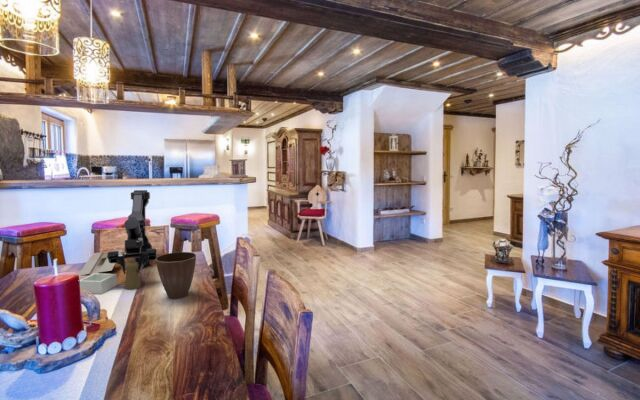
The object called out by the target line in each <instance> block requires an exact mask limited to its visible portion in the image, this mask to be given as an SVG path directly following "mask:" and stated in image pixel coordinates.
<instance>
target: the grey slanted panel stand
mask: <svg viewBox="0 0 640 400" xmlns="http://www.w3.org/2000/svg"><path fill="white" fill-rule="evenodd" d="M112 251H119V253H122V252H123V248H122V249H116V250H115V249H114V250H112ZM108 253H109V252H107V253H104V252H103V251H101V252H99V251H98V252H93V253H92V254H91V256H90V257H89V258H88V260H87V261H86V263H85V264H84V265H83V266H82V268H81V270H80V271H79V272H78V274H77V276H84V275H89V276H90V275H92V274H94V273H98V274H101V273H105V272H109V271H112V270H113V269H114V267H115V264H116V263H109V260H108V258H107V254H108Z"/></svg>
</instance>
